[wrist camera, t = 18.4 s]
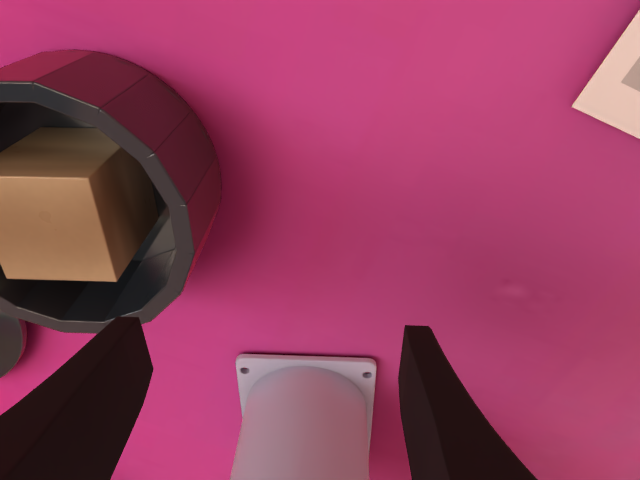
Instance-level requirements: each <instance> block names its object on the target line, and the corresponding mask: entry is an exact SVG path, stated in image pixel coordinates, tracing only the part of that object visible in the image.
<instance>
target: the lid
mask: <svg viewBox="0 0 640 480" xmlns="http://www.w3.org/2000/svg"><path fill="white" fill-rule="evenodd" d="M26 342H27V328H26V323H25V320H21V319H18V318H15V317H13V316H10V315H8V314H7V313H5V312H3V311H2V310H0V378H1V377H2V376H4V375H6V374H7V373H8V372H9V371H10V370H12V369H13V367H14V366H15V365H16V363H17V362H18V361H19V360H20V358H21V357H22V354H23V352H24V350H25V346H26Z"/></svg>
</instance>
